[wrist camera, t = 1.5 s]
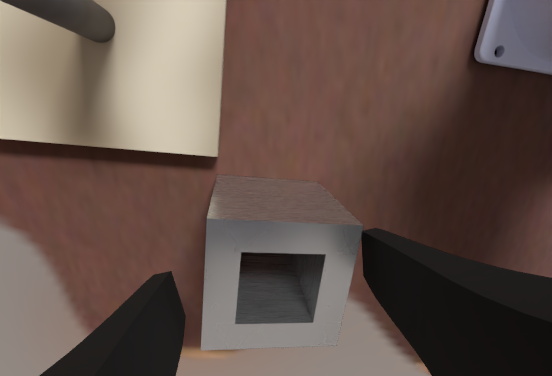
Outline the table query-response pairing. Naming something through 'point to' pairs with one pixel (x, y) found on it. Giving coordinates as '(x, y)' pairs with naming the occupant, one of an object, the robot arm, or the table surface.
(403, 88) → the table surface
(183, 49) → the cream tile with peg
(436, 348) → the robot arm
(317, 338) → the grey hollow cube
